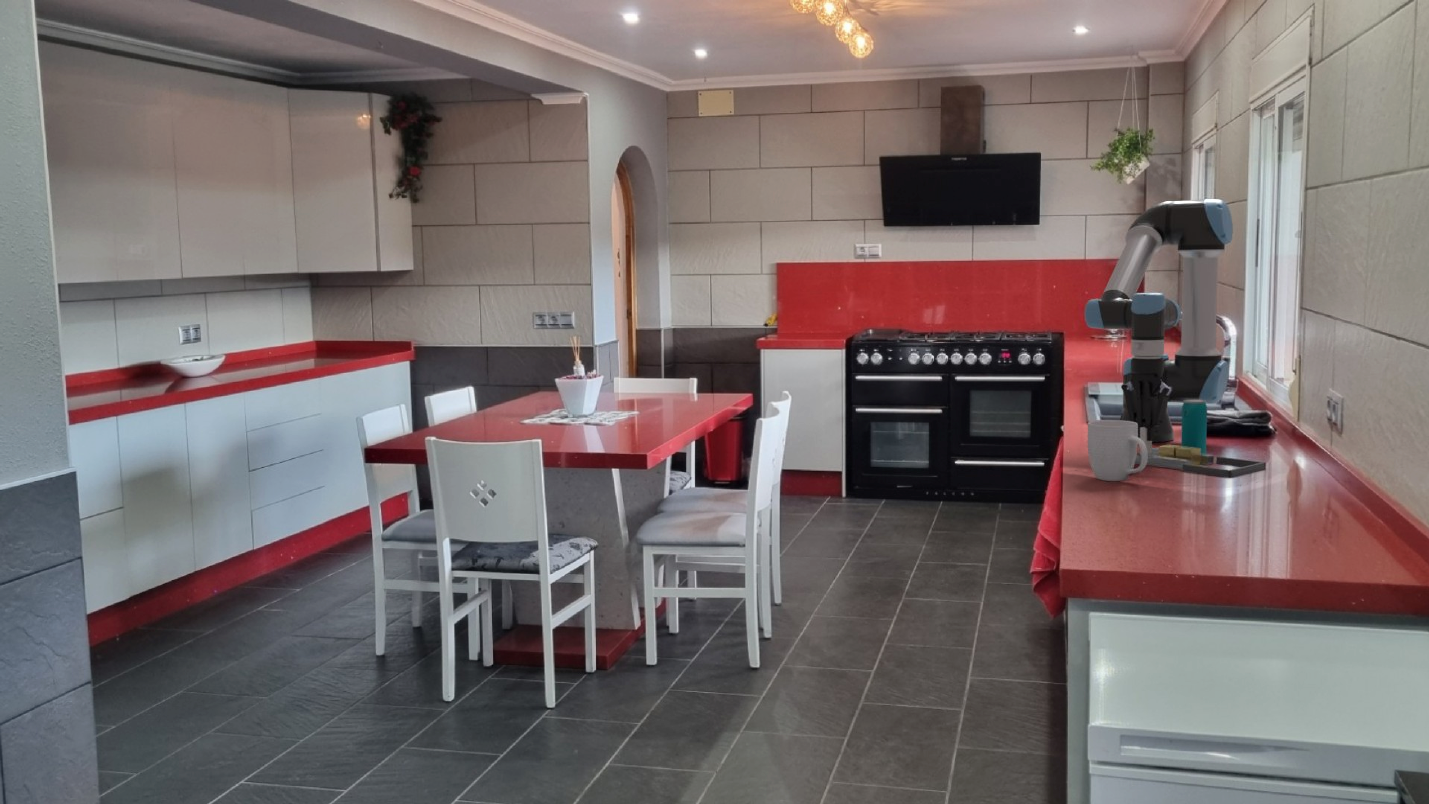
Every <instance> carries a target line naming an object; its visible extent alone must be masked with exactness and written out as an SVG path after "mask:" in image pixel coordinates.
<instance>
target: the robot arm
mask: <svg viewBox="0 0 1429 804" xmlns="http://www.w3.org/2000/svg"><path fill="white" fill-rule="evenodd" d="M1233 226H1234V225H1233V218H1232V214H1231V210H1230V208H1229V206H1228V204H1227V203H1226V202H1225V201H1224V200H1222V199H1211V198H1210V199H1208V198H1206V199H1192V200H1191V199H1190V200H1168V201H1163V202H1159V203H1156V204H1155V205H1153V206H1151V207H1149V208H1147V209H1146V210H1145V211H1143V212H1142V213H1141V214H1140V215H1139V216H1138V217H1137V218H1136V219H1135V220H1133V222H1132V224H1131V225H1130V226H1129V228H1128V230H1127V232H1126V235H1125V237H1124V238H1125V243H1126V244H1125V246H1124V247H1123V250H1122V252H1121V254H1120V256H1119V259H1118V261H1117V263H1116V265H1115V267H1114V269H1113V271H1112V273H1111V275H1110V278H1109V280H1108V282H1107V285H1106V286H1105V288H1104V290H1103V293H1102V295H1101V296H1100V298H1094V299H1093V298H1091V299H1090V300H1088V301H1087V302H1086V304H1085V308H1084V319H1085V323H1086V325H1087V327H1088V328H1091V329H1098V330H1131V339H1130V342H1131V343H1130V349H1131V350H1130V355H1131V356H1132V357H1127V359H1126V360H1125V361H1124V363H1123V372H1122V384H1121V386H1120V387H1121V390H1122V412H1121V415H1120V418H1119V420H1123V421H1132V422H1136V423H1137V424H1138V438H1140V439H1141V440H1143V442H1144V443H1145V445H1146V448H1147V451H1148V454H1151V453H1152V448H1153V443H1163V442H1171V441H1172V440H1174V437H1175V435H1174V434H1175V433H1174V432H1175V431H1174V429H1173V425H1172V422H1171V418H1170V416H1169V411H1168V403H1182V404H1183V403H1184V400H1188V399H1199V400H1205V401H1206V402H1205V403H1206V405H1207V404H1208V405H1209V404H1210V405H1214V404H1217V403H1219V401H1221V399H1222V398H1223V396H1224V394H1225V392H1226V389H1227V385H1228V380H1229V373H1230V372H1229V371H1230V370H1229V364H1228V361H1225V360H1223V359H1222V352H1220V351H1219V350H1218V349H1217V347H1216V339H1217V338H1216V337H1217V305H1218V276H1219V275H1218V273H1219V269H1218V268H1219V257H1220V256H1221V255H1222V254H1223V253H1224V252H1225V246H1226V245H1228V244H1230V243H1231V242H1232V240H1233V233H1234V227H1233ZM1169 245H1171V246H1176V245H1177V253H1179V254H1180V255H1181V257H1182V258H1183V262H1182V263H1183V266H1182V267H1183V268H1182V269H1183V271H1182V298H1181V299H1182V301H1181V302H1182V305H1181V307H1180V306H1179V304H1178V303H1177V301H1175V300H1173V299H1170V298H1166V296H1165V294H1164V293H1162V292H1138V289H1139V287H1140V285H1141V283H1142V281H1143V279H1144V276H1145V274H1146V272H1147V270H1148V268H1149V265H1150V263H1151V260H1152V259H1153V256H1154V255H1155V254H1157V253H1158V252H1159V251H1160V250H1161V248H1162V246H1169ZM1181 308H1182V309H1181ZM1180 319H1181V340H1180V343H1181V344H1180V348H1178V350H1177V351H1176V352H1174V359H1170V355H1169V354H1168V353H1165V330H1166V331H1167V330H1169V329H1171V328H1173V327H1175V326H1176V325H1177V324H1178V323H1179V321H1180ZM1139 453H1140V454H1141V450H1140V449H1139Z"/></svg>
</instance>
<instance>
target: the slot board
mask: <svg viewBox="0 0 1429 804" xmlns="http://www.w3.org/2000/svg"><path fill="white" fill-rule="evenodd" d="M1214 456H1215V455H1214V454H1209V453H1206V454H1201V460H1200V465H1198V466H1202V467H1206V466H1208V465H1214V463H1215V462H1214V459H1215V457H1214ZM1141 459H1142V455H1141V454H1140V452H1139V453H1138V452H1137V455H1136V460H1135V464H1138V465H1140V464H1141ZM1191 462H1192V460H1187V459H1179V458H1172V457H1164V456H1159V447H1152V453H1151V454H1148V461H1147V464H1146V466H1151V467H1161V468H1168V469H1176V470H1181V471H1183V464H1187V465H1191Z"/></svg>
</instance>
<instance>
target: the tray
mask: <svg viewBox="0 0 1429 804" xmlns="http://www.w3.org/2000/svg"><path fill="white" fill-rule="evenodd" d="M1215 463H1216V464H1217V465H1227V466H1234V467H1235V466H1236V467H1237V468H1233V469H1224V468H1223V469H1222V468H1215V467H1207V466H1195V465H1187V464H1183V470H1182V472H1186V473H1193V474H1199V475H1200V474H1201V475H1208V476H1216V477H1223V478H1234V477H1239V476H1243V475H1247V474H1251V473H1255V472H1259V471H1263V470H1266V466H1267V465H1266V464H1267V462H1266V461H1256V460H1250V459H1249V460H1248V459H1241V458H1232V457H1224V456H1216V460H1215Z"/></svg>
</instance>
